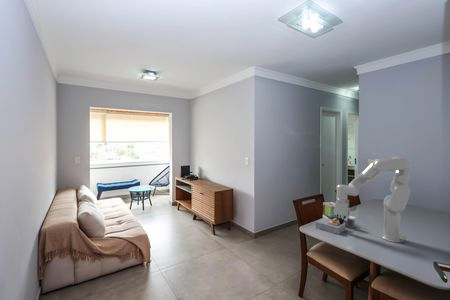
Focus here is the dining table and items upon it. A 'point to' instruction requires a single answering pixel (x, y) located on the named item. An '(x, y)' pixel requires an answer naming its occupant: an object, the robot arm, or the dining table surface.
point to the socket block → (330, 226)
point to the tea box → (329, 210)
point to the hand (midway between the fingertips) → (341, 223)
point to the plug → (350, 222)
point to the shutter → (334, 222)
